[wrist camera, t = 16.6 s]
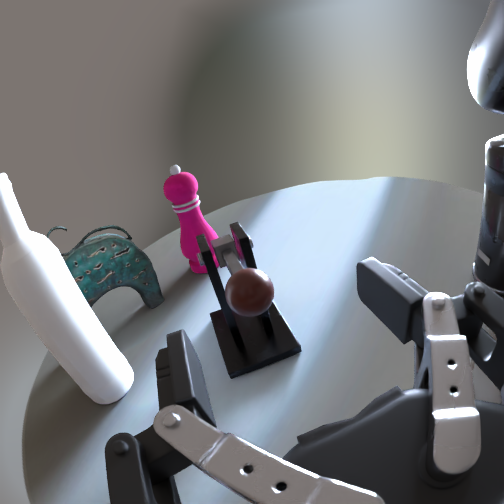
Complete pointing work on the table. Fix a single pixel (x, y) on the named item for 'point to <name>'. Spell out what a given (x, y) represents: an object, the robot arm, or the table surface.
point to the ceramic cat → (111, 267)
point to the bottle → (58, 306)
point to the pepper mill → (189, 216)
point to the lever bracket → (246, 319)
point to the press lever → (243, 281)
